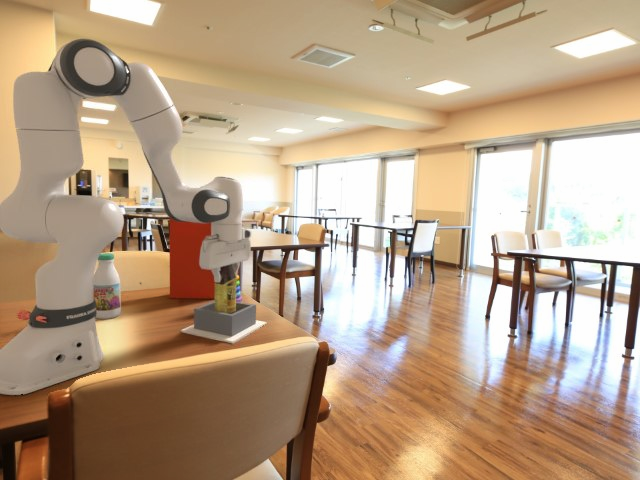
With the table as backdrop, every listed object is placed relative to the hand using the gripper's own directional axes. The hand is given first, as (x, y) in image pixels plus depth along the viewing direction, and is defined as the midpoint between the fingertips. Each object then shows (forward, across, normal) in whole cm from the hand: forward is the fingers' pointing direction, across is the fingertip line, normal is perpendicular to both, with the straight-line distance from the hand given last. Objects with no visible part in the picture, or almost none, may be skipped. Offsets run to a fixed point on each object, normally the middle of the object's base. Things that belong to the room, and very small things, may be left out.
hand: (226, 279), depth 115 cm
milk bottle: (+15, -9, +39) cm, 43 cm away
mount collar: (+15, 0, 0) cm, 15 cm away
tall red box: (+15, +23, +31) cm, 42 cm away
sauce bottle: (+12, 0, 0) cm, 12 cm away
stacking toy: (+15, +18, +11) cm, 26 cm away
